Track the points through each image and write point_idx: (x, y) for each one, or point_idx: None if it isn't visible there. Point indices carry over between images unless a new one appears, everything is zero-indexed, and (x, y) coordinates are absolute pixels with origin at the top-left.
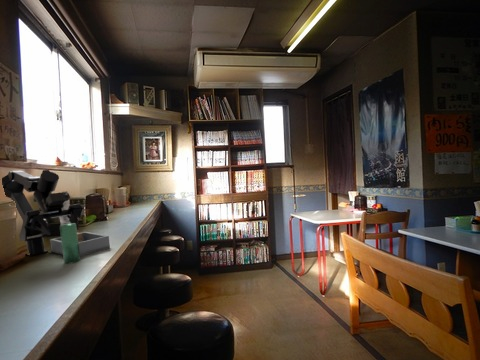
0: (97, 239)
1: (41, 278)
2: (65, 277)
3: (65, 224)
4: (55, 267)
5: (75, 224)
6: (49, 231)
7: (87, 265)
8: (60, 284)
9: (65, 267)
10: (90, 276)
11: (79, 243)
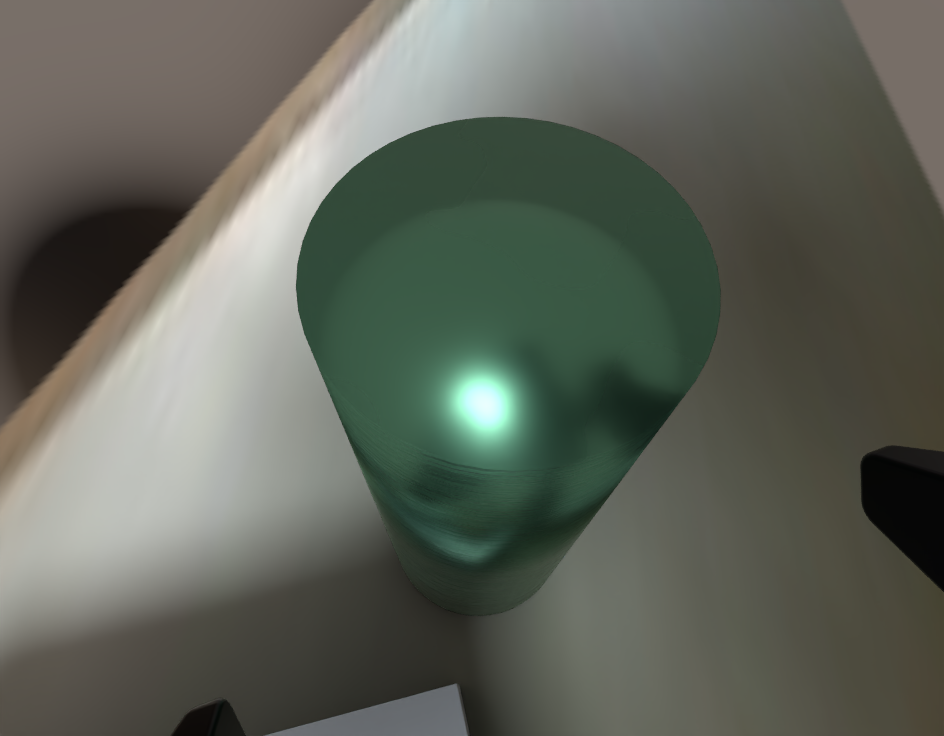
0: None
1: (719, 199)
2: (565, 100)
3: (560, 403)
4: None
5: (332, 203)
6: (929, 455)
7: None
8: (594, 16)
9: None
10: (434, 16)
11: (314, 723)
